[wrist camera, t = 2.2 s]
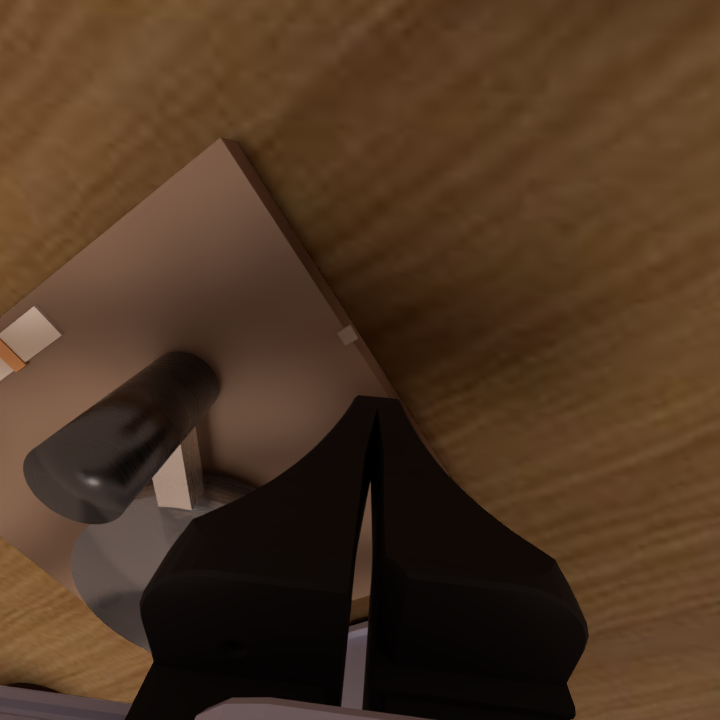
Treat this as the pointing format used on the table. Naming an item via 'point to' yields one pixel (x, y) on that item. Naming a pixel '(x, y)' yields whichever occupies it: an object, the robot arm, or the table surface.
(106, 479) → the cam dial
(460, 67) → the table surface
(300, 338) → the brown square panel
